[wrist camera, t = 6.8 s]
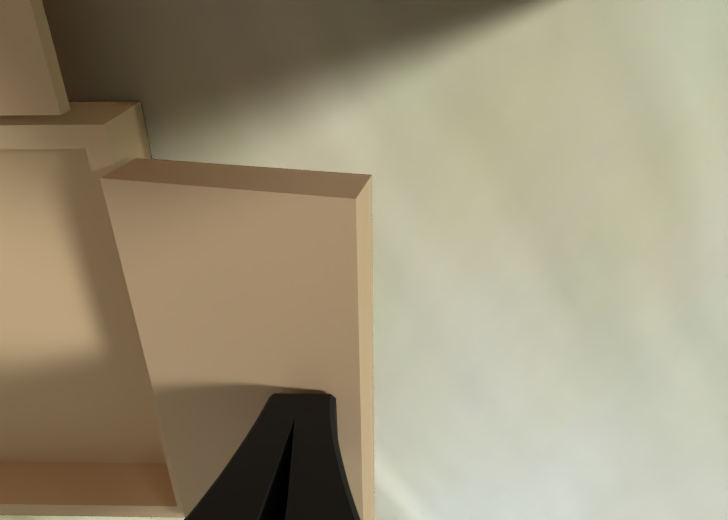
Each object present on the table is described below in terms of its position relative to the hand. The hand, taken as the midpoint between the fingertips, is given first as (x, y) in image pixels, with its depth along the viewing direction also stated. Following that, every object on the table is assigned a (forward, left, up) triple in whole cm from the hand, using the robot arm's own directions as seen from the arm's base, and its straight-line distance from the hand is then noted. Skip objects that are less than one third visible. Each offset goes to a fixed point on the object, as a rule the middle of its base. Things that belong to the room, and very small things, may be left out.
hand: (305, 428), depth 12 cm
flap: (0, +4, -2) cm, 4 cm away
